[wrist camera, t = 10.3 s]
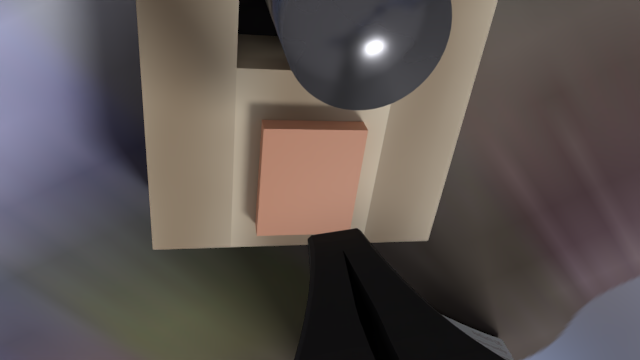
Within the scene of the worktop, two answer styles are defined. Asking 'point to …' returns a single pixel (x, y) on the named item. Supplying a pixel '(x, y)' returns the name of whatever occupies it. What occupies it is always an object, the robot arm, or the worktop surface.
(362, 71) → the steel peg
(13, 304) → the worktop surface
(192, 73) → the hitch block
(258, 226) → the latch flap
